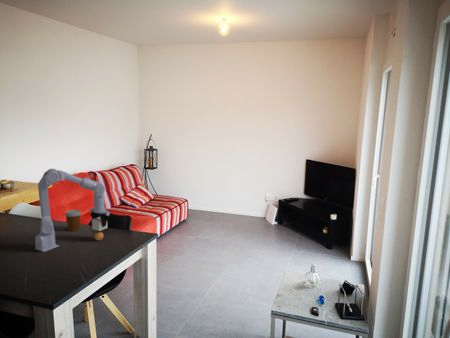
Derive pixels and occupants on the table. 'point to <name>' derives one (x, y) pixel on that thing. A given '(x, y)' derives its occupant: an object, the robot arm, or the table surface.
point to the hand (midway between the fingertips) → (100, 225)
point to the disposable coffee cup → (73, 219)
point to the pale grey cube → (98, 224)
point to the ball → (99, 236)
